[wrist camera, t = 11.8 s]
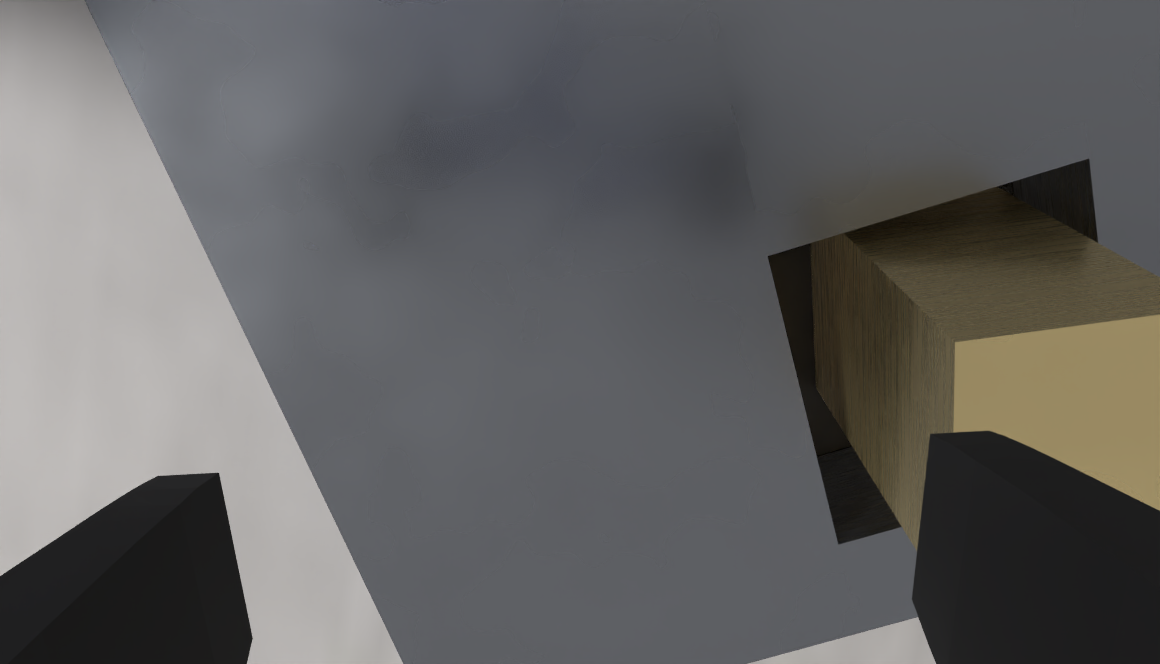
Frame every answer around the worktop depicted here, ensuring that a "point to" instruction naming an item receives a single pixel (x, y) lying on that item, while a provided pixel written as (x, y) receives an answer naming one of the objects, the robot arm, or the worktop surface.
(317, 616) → the worktop surface
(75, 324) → the worktop surface
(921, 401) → the tan wooden block
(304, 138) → the peg hole base
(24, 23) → the worktop surface
